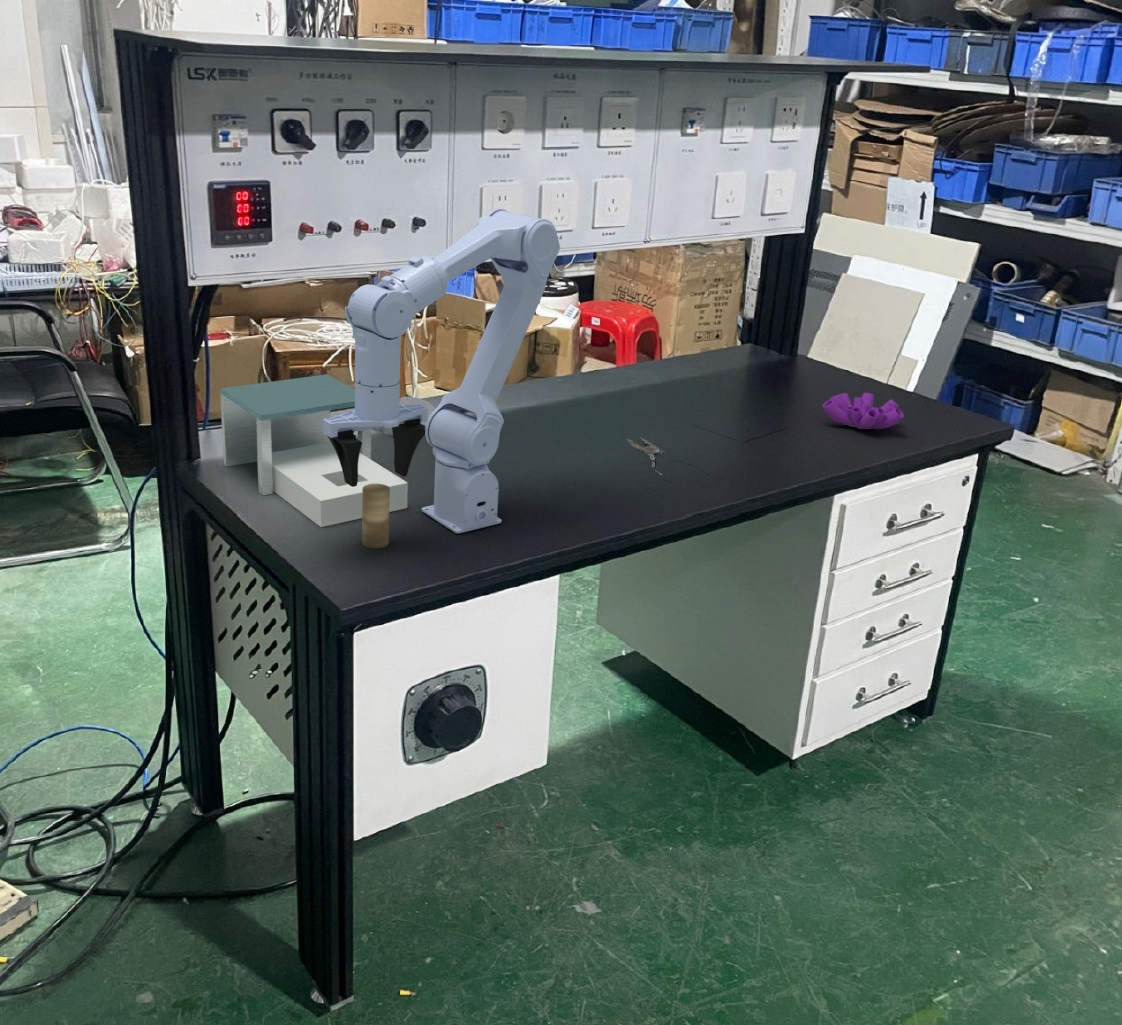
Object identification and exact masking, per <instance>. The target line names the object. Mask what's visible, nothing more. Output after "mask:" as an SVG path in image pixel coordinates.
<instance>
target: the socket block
mask: <svg viewBox="0 0 1122 1025" xmlns="http://www.w3.org/2000/svg"><path fill="white" fill-rule="evenodd" d="M257 459H258V455H257ZM272 484H273V493H275V494H276V495H278V496H279V497H280V498H282V499H283V500H284V501H286V502H287V503H289V504H290V505H291V507H293V508H295V509H297V511H299V512H301V514H302V515H304V516H306V518H308V519H310V520H311V521H312V522H314V523H315V524H316V525H317V526H319V527H320V528H324V527H329V526H333V525H337V524H338V525H339V524H341V523H347V522H351V521H354V520H360V519H362V493H363V487H364V486H365V485H368V484H383V485H386V486H388V487H389V488H390V506H389V513H391V512H395V511H401V510H404V509H408V485H409V483H408V482H407V481H406V480H404V479H402V478H401V477H400V476H398V475H397V474H395V473H393V472H391V471H390V470H389V469H387V468H384V466H381V465H380V464H378V462H375V461H374V460H372V458H371V459H369V458H367V457H366V456H364V455H363V454H361V453H360V454H359V460H358V482H357V486H354V487H351V486H350V485H348V484H347V483H345V480H344V475H343V471H342V467H341V464H340V461H339V458H338V456H337V453H336V451H335V449H334V447H333V445H332V443H331V442H329V443H323V444H318V445H312V446H306V447H300V448H295V449H289V450H283V451H277V452H272Z"/></svg>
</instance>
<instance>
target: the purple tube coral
mask: <svg viewBox="0 0 1122 1025" xmlns="http://www.w3.org/2000/svg"><path fill="white" fill-rule="evenodd" d="M874 401H875V395H874V394H872V393H870V392H863V393H862V395H861V397H854V399H853V404H852V402H851V399H850V397H849V394H848V393H846V392H844V393H839V394H836V395H833V396H831V397H829V399H828V400H826V401H825V402H824V403H823V404H822V408H823V410H824V412H825V414H827V416H828V418H829V419H831V420H832V421H834V422H835V423H838V422H840V423H844V424H851V425H855V426H858V427H859V428H862V430H863V429H867V428H870V429H875V430H883V429H887V428H890V427H893V426H894V425H896V424H898V423H899V422H901V421H902V420H903V419H904V417H905V414H904V413H903V411H902V410H901V409H900V408H899V407H900V405H899V404H898V403H897V402H895V401H894V400H893V399H889V400H888V401H887V402H886V403H885V404H883V405H882V406H881V407H876V406H874ZM840 423H839V424H840Z"/></svg>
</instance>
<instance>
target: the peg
mask: <svg viewBox="0 0 1122 1025" xmlns="http://www.w3.org/2000/svg"><path fill="white" fill-rule="evenodd" d="M389 506H390V488H389V487H388V486H386V485H383V484H368V485H365V486H364V487H363V493H362V518H361V520H362V521H361V522H362V523H361V524H362V526H361V533H362V534H361V543H362V545H363V546H364V547H365V548H369V549H382V548H385V547H388V545H389V544H390V512H389Z"/></svg>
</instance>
